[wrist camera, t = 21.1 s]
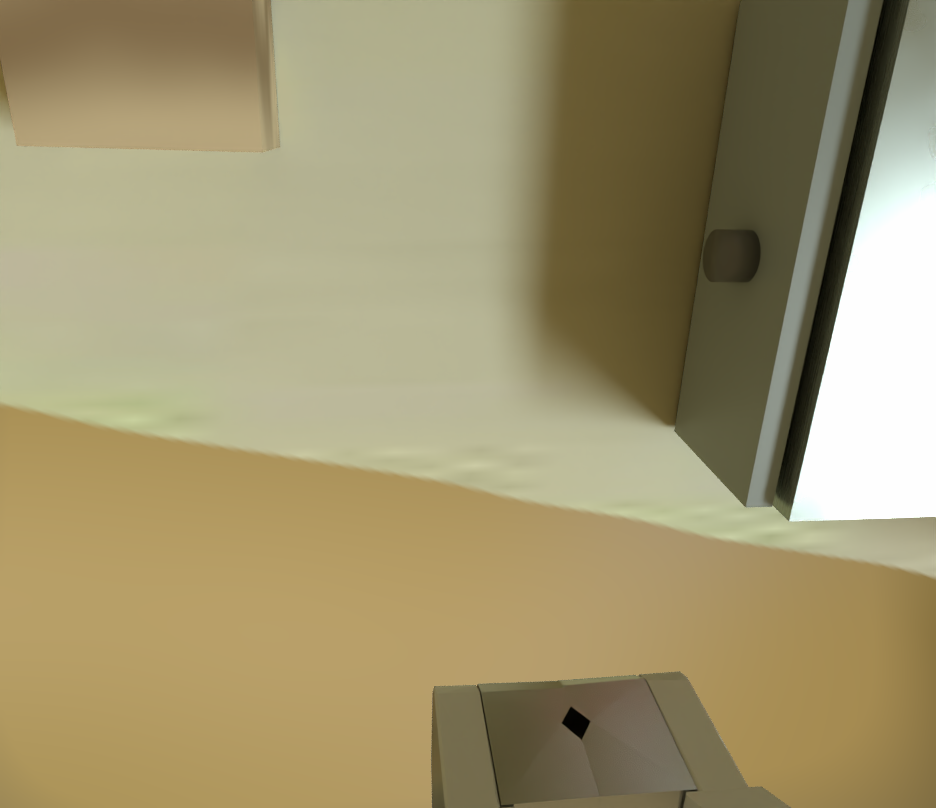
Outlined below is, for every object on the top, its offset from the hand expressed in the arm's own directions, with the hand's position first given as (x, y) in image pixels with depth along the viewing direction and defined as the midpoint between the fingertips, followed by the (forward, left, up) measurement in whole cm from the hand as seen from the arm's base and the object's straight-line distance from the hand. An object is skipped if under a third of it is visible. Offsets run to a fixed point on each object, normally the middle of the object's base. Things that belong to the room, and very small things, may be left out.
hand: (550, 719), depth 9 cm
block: (-9, -9, -21) cm, 25 cm away
